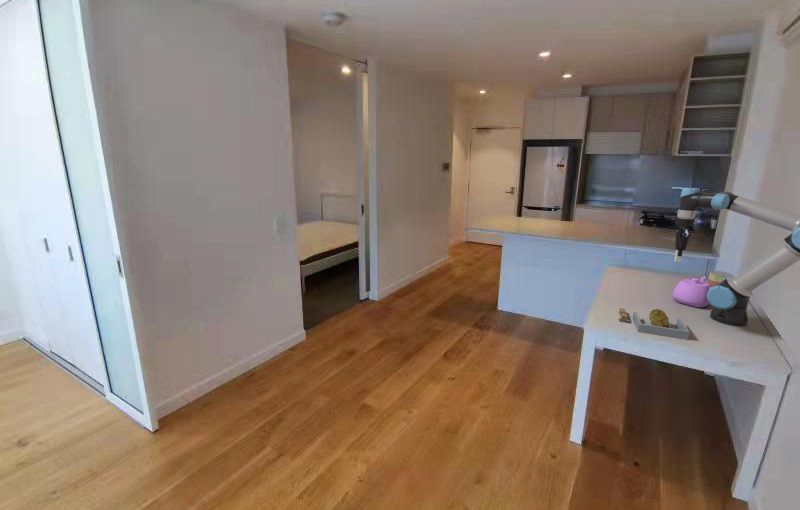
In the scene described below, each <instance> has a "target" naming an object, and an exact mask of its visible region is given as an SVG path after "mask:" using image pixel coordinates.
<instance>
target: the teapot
mask: <svg viewBox="0 0 800 510" xmlns="http://www.w3.org/2000/svg"><path fill="white" fill-rule="evenodd" d="M706 279H707V277H706V276H705V275H704V276H703V275H702V277H700V279H699V278H696V277H693V278H684V279H682V280H680V281H679V282H678V283H677V285H676V286H675V288H674V290H673V291H672V298H673V300H674V301H675V302H678V303H679V304H684V305H687V306H692V307H694V308H704V307H707V306H709V305H711V304H710V302H709V301H708V299H707V292H708V291H709V290H710V288H711V286H710V284H708V283H707V282H706Z"/></svg>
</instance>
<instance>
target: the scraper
mask: <svg viewBox="0 0 800 510" xmlns="http://www.w3.org/2000/svg"><path fill="white" fill-rule="evenodd" d="M618 313H619V316H620V317H619V318H618V321H619V322H620V323H626V324H631V320H630V319H628V314H627V311H626V309H625V308H622V307H621V308H619V311H618Z"/></svg>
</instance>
